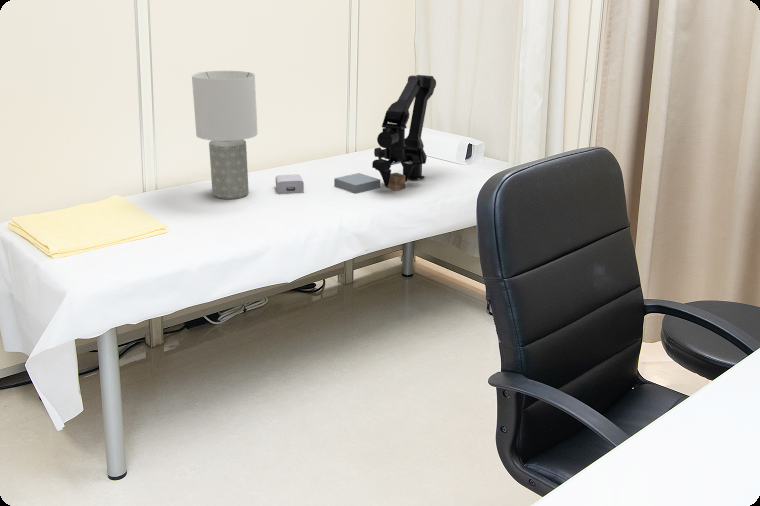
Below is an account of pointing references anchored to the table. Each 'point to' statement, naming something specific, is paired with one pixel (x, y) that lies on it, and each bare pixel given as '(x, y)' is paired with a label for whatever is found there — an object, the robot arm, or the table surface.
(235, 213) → the table surface
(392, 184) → the walnut cube
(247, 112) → the lamp
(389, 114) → the robot arm
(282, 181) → the charger
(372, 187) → the grey base
